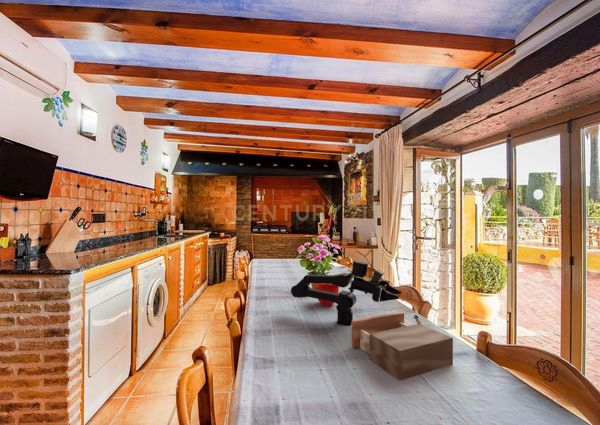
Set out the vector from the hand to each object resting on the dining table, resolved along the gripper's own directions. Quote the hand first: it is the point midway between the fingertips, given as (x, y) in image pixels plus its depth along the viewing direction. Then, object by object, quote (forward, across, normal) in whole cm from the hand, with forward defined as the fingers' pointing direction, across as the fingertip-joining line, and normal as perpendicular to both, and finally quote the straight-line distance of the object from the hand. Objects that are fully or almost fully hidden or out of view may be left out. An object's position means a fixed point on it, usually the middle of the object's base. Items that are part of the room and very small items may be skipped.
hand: (400, 295), depth 124 cm
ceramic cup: (-37, +22, +22) cm, 49 cm away
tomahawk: (+11, +15, +15) cm, 24 cm away
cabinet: (+9, -25, +15) cm, 31 cm away
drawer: (+1, -19, +16) cm, 25 cm away
